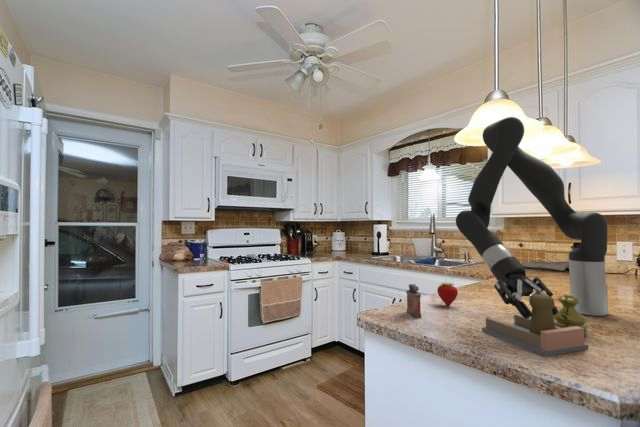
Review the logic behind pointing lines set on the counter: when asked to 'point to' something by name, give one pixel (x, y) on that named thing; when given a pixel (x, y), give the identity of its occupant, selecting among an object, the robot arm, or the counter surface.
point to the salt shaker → (569, 314)
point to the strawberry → (447, 293)
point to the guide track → (537, 336)
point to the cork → (541, 313)
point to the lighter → (413, 301)
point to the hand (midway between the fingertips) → (542, 315)
